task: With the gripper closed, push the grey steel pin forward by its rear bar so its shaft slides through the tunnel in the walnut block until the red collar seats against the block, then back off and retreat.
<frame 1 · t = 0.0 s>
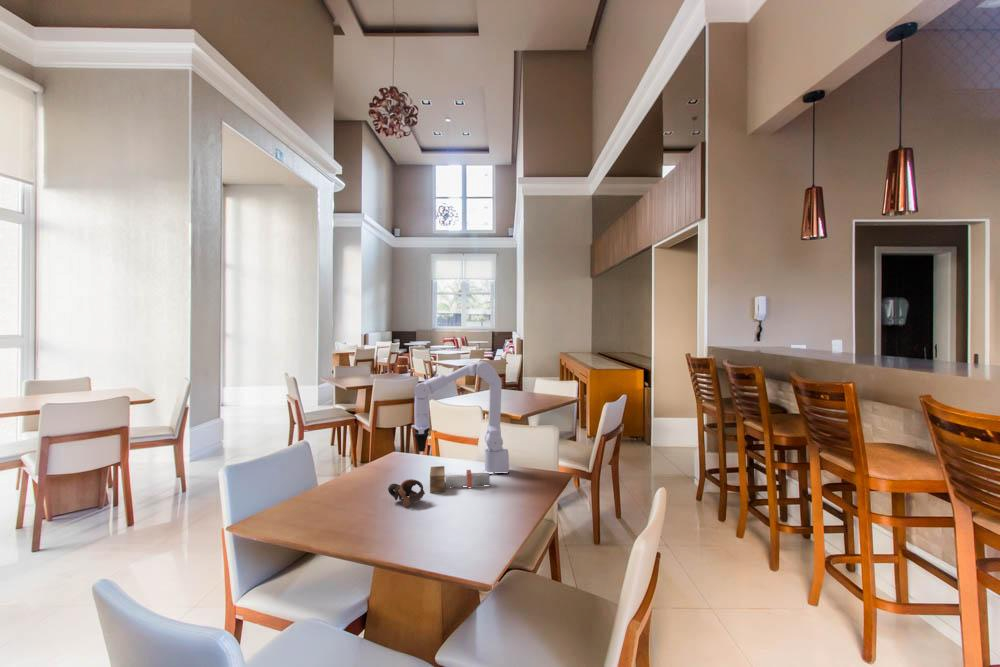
hand: (422, 449, 185), 10 cm above the table, tool pointing down, fingers open, 7 cm apart
walnut block: (437, 487, 169), on the table
steel pin: (467, 486, 171), on the table
pottery mug: (406, 503, 154), on the table
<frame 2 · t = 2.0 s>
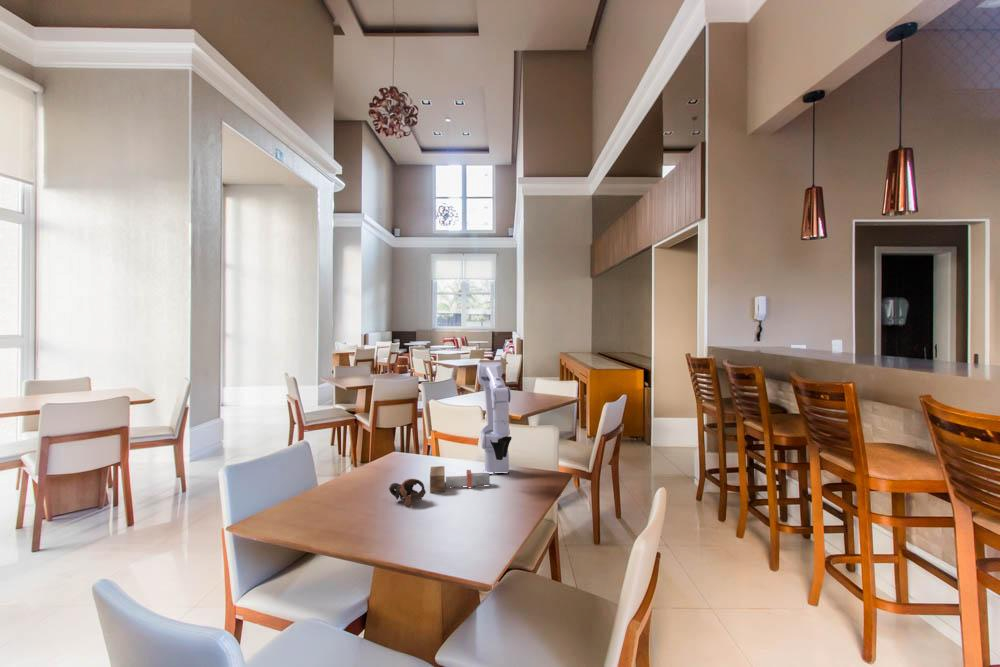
hand: (501, 458, 172), 9 cm above the table, tool pointing down, fingers open, 4 cm apart
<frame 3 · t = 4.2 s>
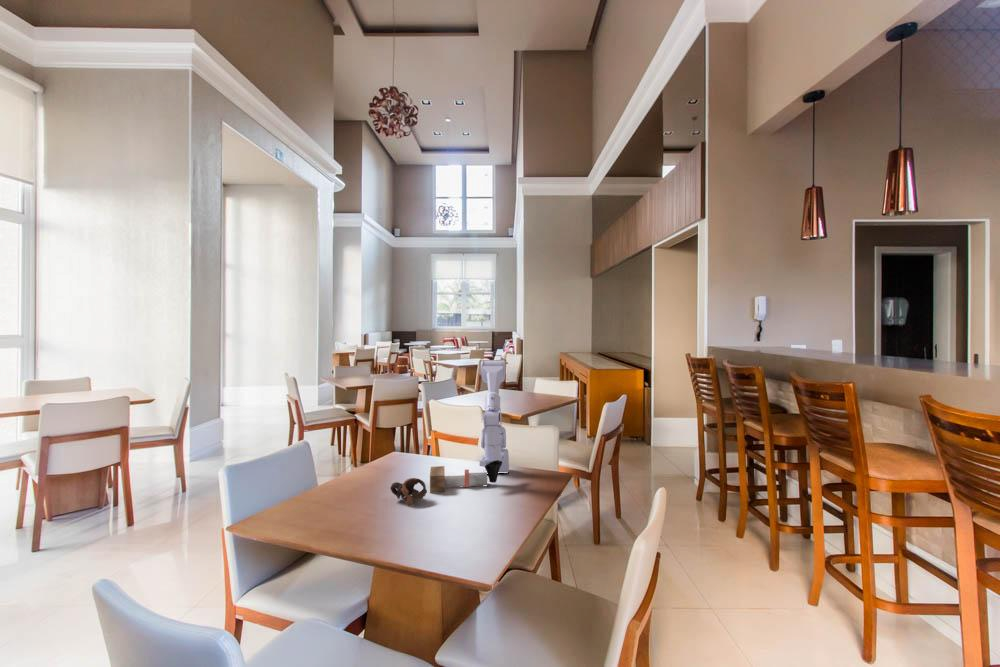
hand: (492, 481, 172), 1 cm above the table, tool pointing down, fingers closed
steel pin: (464, 485, 171), on the table, touching gripper
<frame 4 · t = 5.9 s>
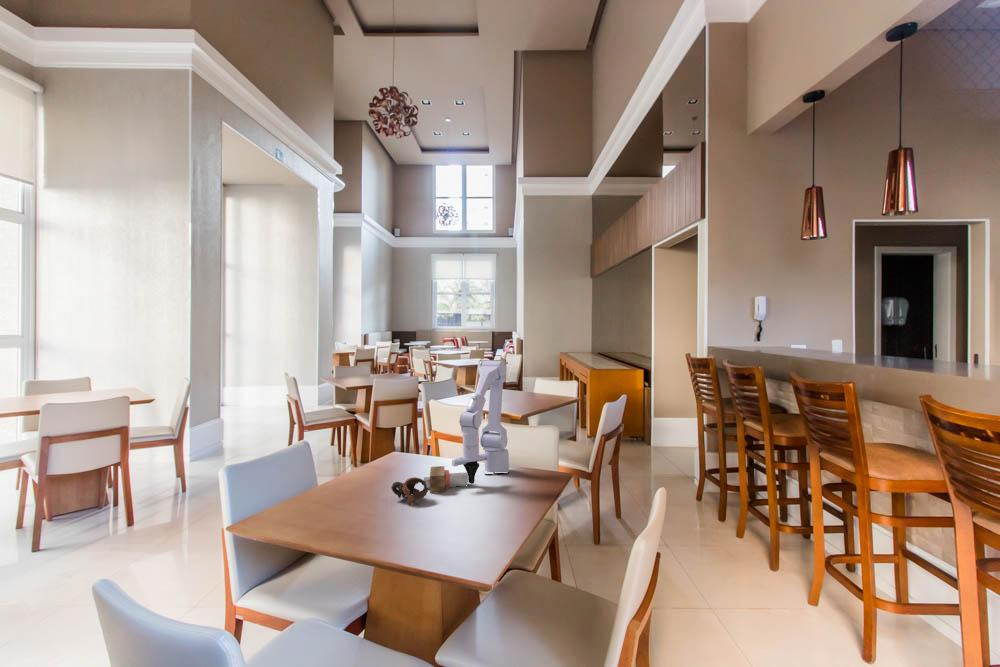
hand: (471, 482, 171), 1 cm above the table, tool pointing down, fingers closed
steel pin: (445, 486, 170), on the table, touching gripper, walnut block
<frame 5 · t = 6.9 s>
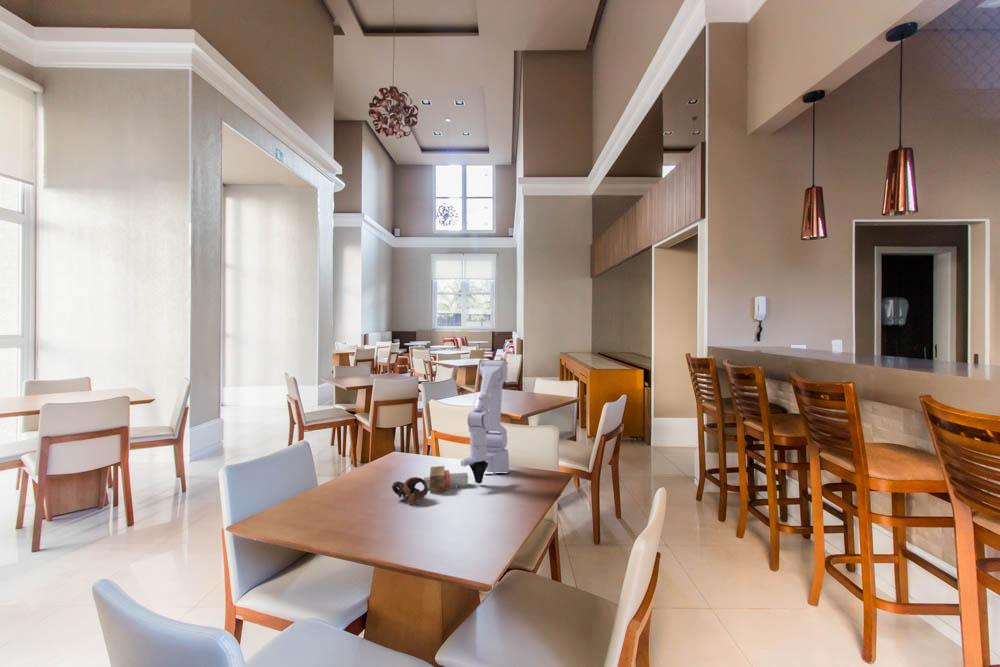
hand: (478, 482, 171), 1 cm above the table, tool pointing down, fingers closed
steel pin: (445, 486, 170), on the table
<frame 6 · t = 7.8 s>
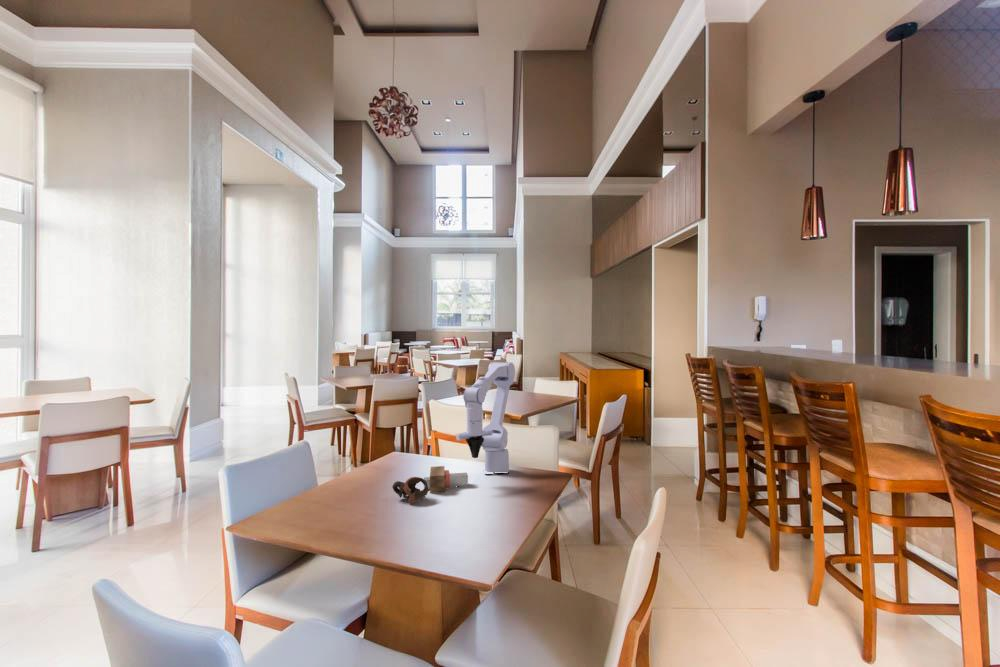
hand: (474, 457, 174), 9 cm above the table, tool pointing down, fingers closed
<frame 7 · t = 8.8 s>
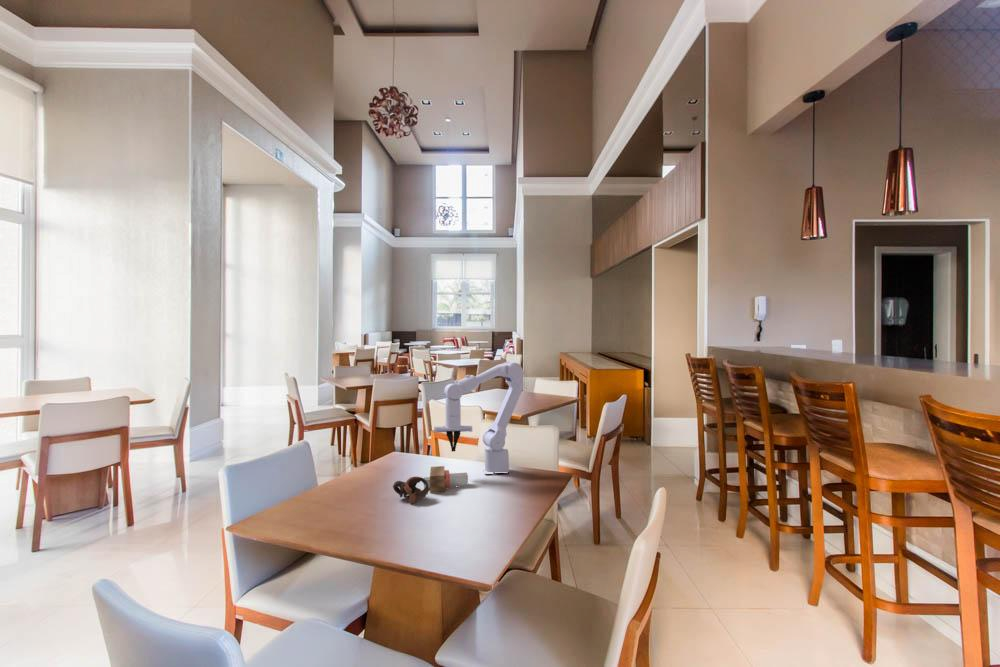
hand: (453, 450, 182), 10 cm above the table, tool pointing down, fingers closed
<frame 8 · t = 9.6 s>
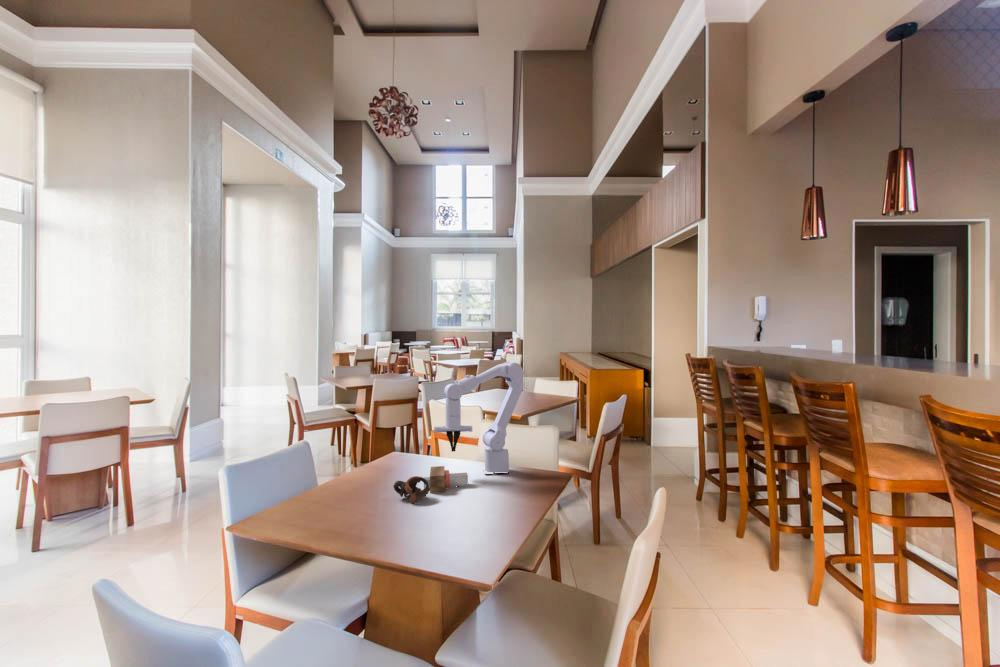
hand: (453, 450, 182), 10 cm above the table, tool pointing down, fingers closed
at the end: steel pin 0.7 cm from the target spot on the walnut block, point 0.0 cm above the walnut block's base; the gripper is holding nothing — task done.
